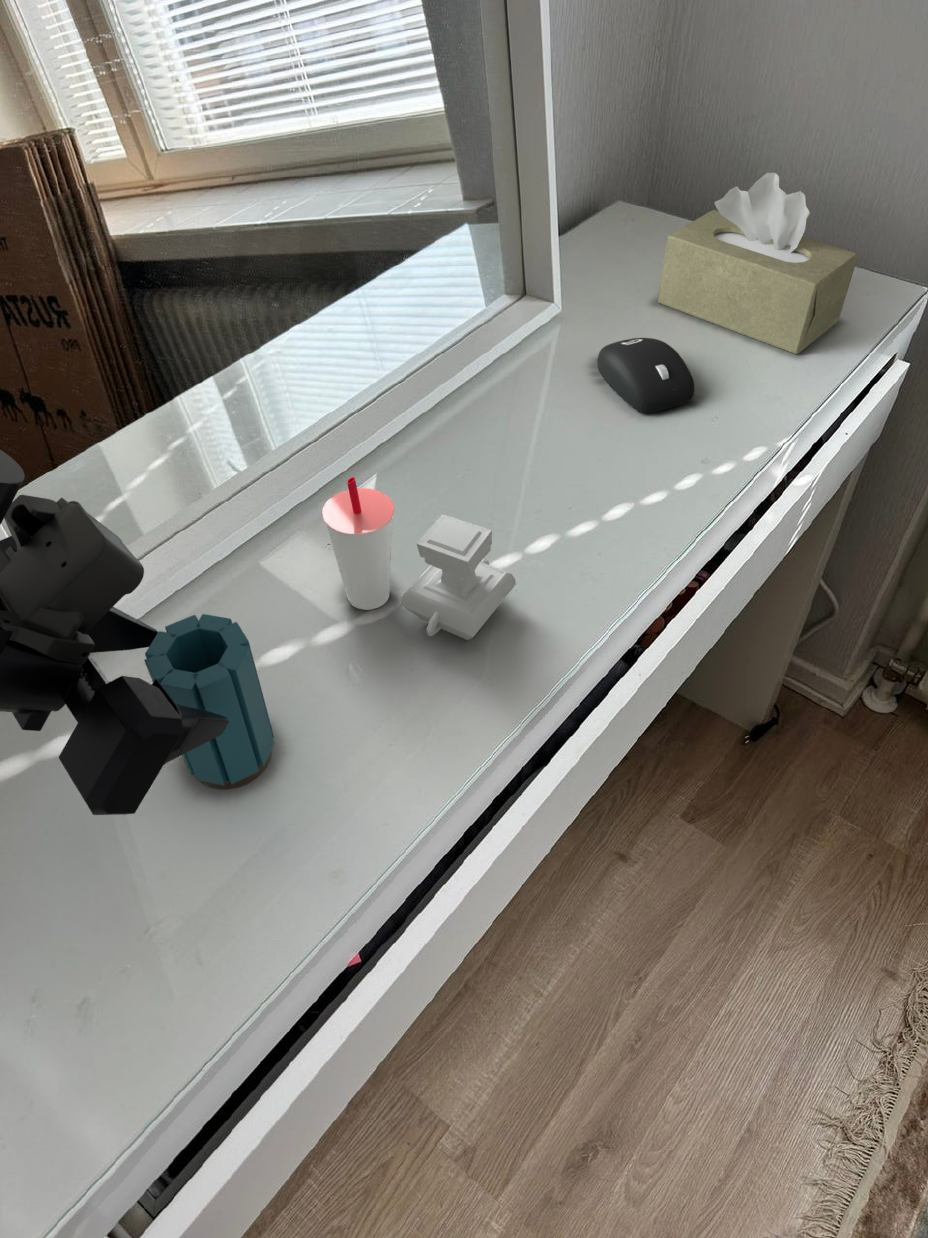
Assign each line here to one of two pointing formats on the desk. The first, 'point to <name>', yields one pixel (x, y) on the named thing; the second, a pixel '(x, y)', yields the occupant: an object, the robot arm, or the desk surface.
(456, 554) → the stamp
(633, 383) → the computer mouse
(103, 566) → the robot arm
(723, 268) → the tissue box
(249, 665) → the sleeve
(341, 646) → the desk surface
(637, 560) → the desk surface
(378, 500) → the cup
